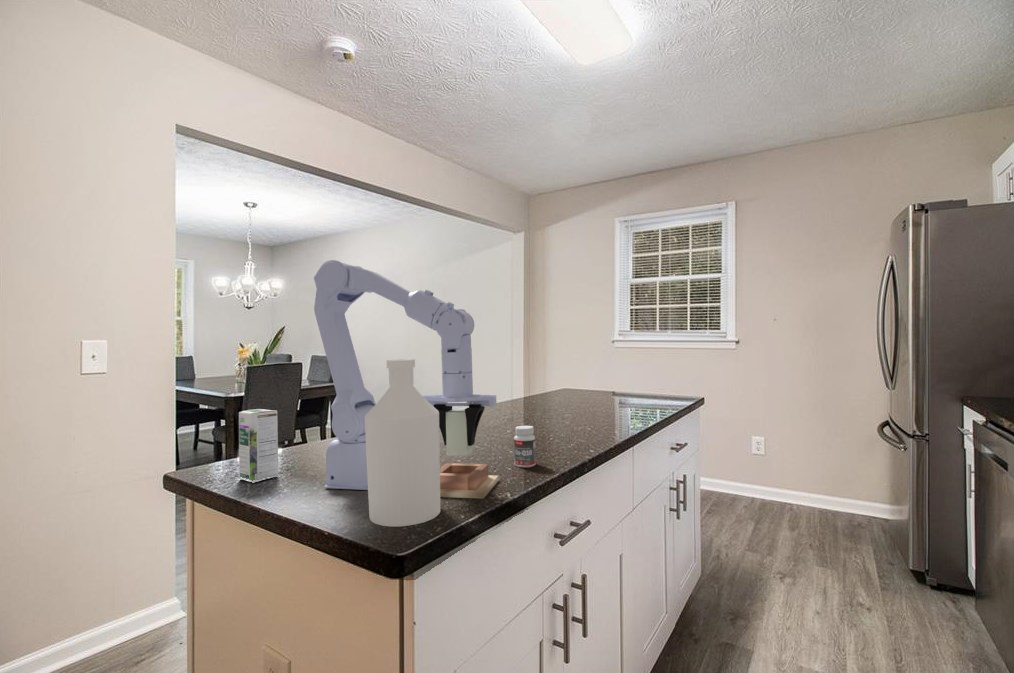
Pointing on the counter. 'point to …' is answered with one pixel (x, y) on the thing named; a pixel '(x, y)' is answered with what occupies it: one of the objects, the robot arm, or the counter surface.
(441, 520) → the counter surface
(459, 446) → the peg
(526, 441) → the pill bottle
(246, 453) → the syrup box
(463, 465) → the socket block
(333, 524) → the counter surface
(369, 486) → the bottle
